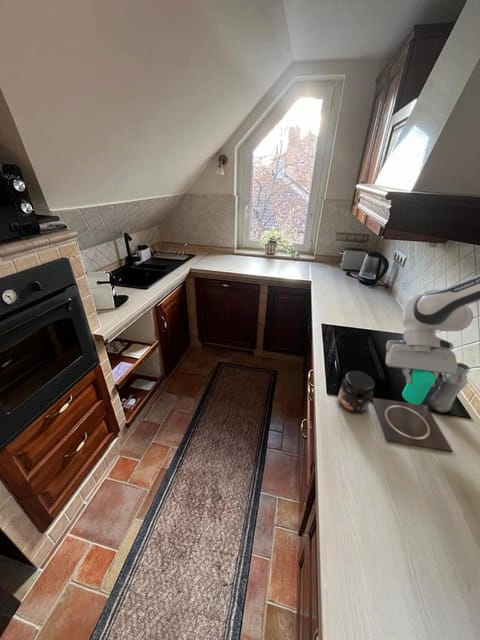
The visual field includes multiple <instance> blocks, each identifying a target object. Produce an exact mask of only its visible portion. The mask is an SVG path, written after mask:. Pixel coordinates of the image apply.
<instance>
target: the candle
mask: <svg viewBox="0 0 480 640" xmlns="http://www.w3.org/2000/svg"><path fill="white" fill-rule="evenodd" d="M410 376H411V378H412V381H413V383H412V384H409V383H406V385H405V387H404V389H403V390H402V393H401V395H402V398H403V399H404V400H405V401H406V402H407V403H412V404H415V405H419V404H420V405H422V403H423V402H424V400H425V399H426V397H427V395H428V393H429V392H430V390H431V388H432V384H433V383H434V381H435V382H436V380H437V379H436V378H435V376H434V375H433V374H432V373H431V372H428V371H426V370H418V369H414V370H412V372H411V375H410ZM435 379H436V380H435Z"/></svg>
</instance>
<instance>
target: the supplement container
mask: <svg viewBox="0 0 480 640" xmlns="http://www.w3.org/2000/svg"><path fill="white" fill-rule="evenodd" d="M375 386H376V383H375V380H374V379H373V378H372V376H370V375H369V374H367V373H365V372H363V371H360V370H351V371H348V372H347V373H346V374H345V376H344V378H343V379H342V381H341V384H340V389H339V391H338V394H337V402H338V404H339V406H340V407H341V408H342V409H343V410H345V411H346V412H348V413H351V414H354V415H361V414H364V413H366V412H367V410H368V408H369V406H370V402H371V401H372V398H373V396H374V394H375V390H374V389H375Z"/></svg>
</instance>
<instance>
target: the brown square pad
mask: <svg viewBox="0 0 480 640" xmlns="http://www.w3.org/2000/svg"><path fill="white" fill-rule="evenodd" d="M371 402H372V405H373V407H374V410H375V412H376V415H377V416H376V417H377V419H378V421H379V424H380V427H381V430H382V433H383V435H384V439H385V441H386V442H387V443H393V444H400V445H405V446H412V447H419V448H425V449H430V450H436V451H442V452H449V453H452V452H453V449H452V447H451V445H450V443H449V442H448V440H447V439H446V437H445V436H444V433H443V432H442V430H441V429H440V427H439V425H438V423H437V421H436V420H435V418H434V416H433V414H432V413H431V411H430V410H429V407H428V406H427V405H426V404H419V405H415V404H412V403H409V402H407V401H406V402H405V401H399V400H391V399H384V398H378V397H372V398H371Z"/></svg>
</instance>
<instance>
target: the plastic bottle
mask: <svg viewBox="0 0 480 640" xmlns="http://www.w3.org/2000/svg"><path fill="white" fill-rule="evenodd" d="M470 370H471V369H470V366H469V365H467V364H465V363H463V362H457V371H456V373H455V374H442V378H441V381H440V384H439V386H438V387H437V389H436V391H434V393H433V394H432V395H431V396H430V398H429V401H428V404H429V406H430V407H431V408H432V409H433V410H434V411H435V412H437V413H441V414H445V413H448V412H450V410H452V407H453V404H454V402H455V399H456V397H458V395H459V393H460V392H461V391H462V390H463V389H464V388H465V387H466V386H467V385H468V381H469V380H468V376H467V375H468V373H469V371H470Z"/></svg>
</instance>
